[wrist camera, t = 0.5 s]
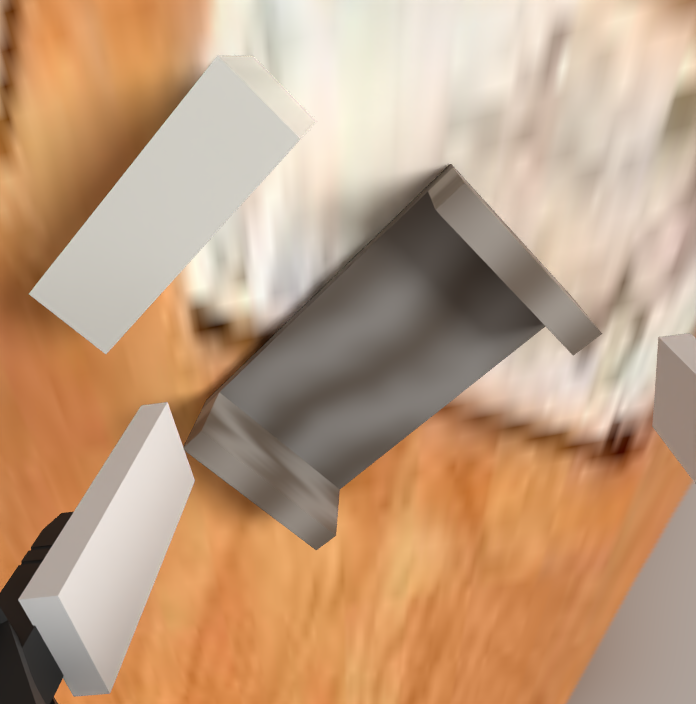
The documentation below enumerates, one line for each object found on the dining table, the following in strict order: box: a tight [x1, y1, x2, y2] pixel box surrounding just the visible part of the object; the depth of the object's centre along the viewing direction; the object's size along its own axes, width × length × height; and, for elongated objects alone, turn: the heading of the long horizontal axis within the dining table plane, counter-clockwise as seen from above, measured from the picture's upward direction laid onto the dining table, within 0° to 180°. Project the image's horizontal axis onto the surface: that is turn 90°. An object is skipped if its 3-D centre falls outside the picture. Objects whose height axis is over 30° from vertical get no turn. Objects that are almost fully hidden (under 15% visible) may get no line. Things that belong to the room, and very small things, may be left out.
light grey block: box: [29, 55, 317, 354], centre depth 34 cm, size 5×16×9 cm, turn 135°
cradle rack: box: [183, 164, 602, 550], centre depth 40 cm, size 12×24×6 cm, turn 135°
